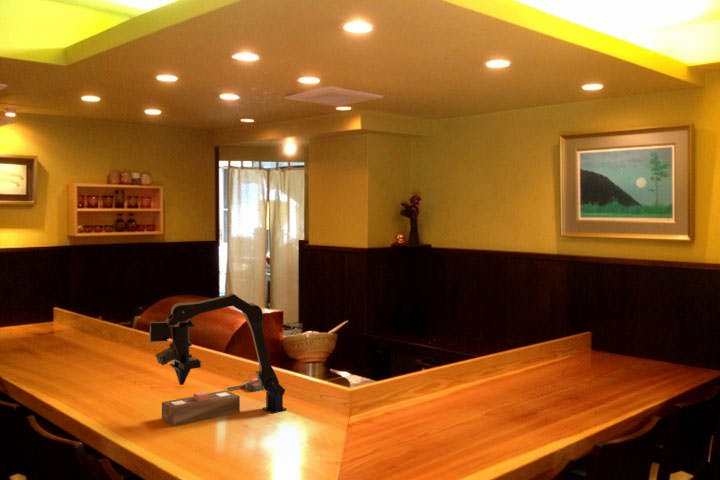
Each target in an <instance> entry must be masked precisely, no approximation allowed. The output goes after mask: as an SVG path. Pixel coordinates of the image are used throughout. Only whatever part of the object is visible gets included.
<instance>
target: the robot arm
mask: <svg viewBox="0 0 720 480" xmlns="http://www.w3.org/2000/svg"><path fill="white" fill-rule="evenodd" d="M229 307H235V309H237V310H239V311H241V312H242V314H243V317H244V319H245V321H246V323H247V325H248V327H249V329H250V333H251V336H252V340H253V344H254V348H255V353H256V356H257V361H258V371H255V375H256V376H257V378H258V381H257V382H258V383H259V384H260V385H261V386H262V387H263V388H264V389H265V390H264V391H265V392H266V393H265V394H266V396H265V406H264V407H262V410H264V411H267V412H268V413H270V414H274V413H278V412H283V411H287V408H285V407H284V401H283V400H284V399H283V398H284V396H285V392H286V389H285V388H284V387H283V386H282V385H281V384H280V383H279V379H278V376H277V375H276V372H275V370H274V369H273V366H272V364H271V363H272V362H271V360H270V359H271V358H270V356H269V352H268V347H267V342H266V338H265V334H264V329H263V323H264V317H263V316H264V315H263V309H262V308H261V307H260V306H258V305H257V304H256V303H253V302H250V303H248V302H246V301H245V300H243V299H242V298H240V297H239V296H238V295H236V294H235V293H230V294H225V295H222V296H218V297H215V298H210V299H205V300H201V301H196V302H189V301H186V302H177V303H175V304H173V305H172V307H171V309H170V314H169V315H168V317H166V319H165V321H150V322H149V330H148V331H149V336H148V337H149V342H150V343H157V342H158V343H159V342H168V340H170V339H171V341H172V342H170V343H169V344H168V348H165V349H164V350H162V351H160V352H157V353H156V354H155V358H156V360H157V363H158V364H160V365H162V366H165V365H167V364H168V363H169V366H170V367H172V368H173V369H174V372H175V375H176V378H177V381H178V383H179V385H180V386H182V385H183V386H184V384H185V382H186V379H188V375H189V374H190V371H191V370H192V369H193V370H194V369H199V368H202V361H201V360H200V359H198V358H196V357H193V354H191V353H190V347H192V346H193V345H192V342H191V341H190V328H195V326H196V325H195V324H194V322H192V320H191V319H192V318H194V317H196V316H198V315H201V314H204V313H207V312H212V311H216V310H221V309H224V308H229Z"/></svg>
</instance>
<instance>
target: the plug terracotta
mask: <svg viewBox="0 0 720 480" xmlns="http://www.w3.org/2000/svg"><path fill="white" fill-rule="evenodd" d="M209 393H210V392H209ZM209 393H208V392H207V391H205V390H203V391H198V392H193V393H192V394H193V396H192V397H194V400H196V401H198V402H199V401H205V400H209Z"/></svg>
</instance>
